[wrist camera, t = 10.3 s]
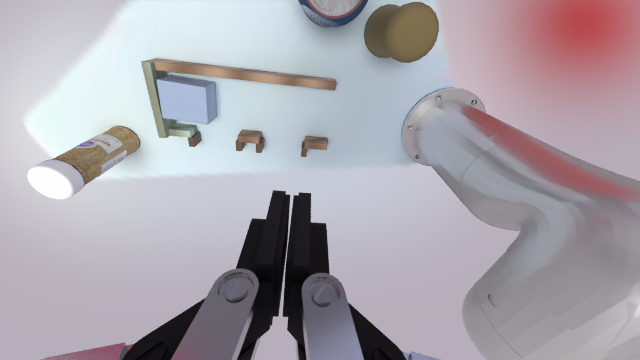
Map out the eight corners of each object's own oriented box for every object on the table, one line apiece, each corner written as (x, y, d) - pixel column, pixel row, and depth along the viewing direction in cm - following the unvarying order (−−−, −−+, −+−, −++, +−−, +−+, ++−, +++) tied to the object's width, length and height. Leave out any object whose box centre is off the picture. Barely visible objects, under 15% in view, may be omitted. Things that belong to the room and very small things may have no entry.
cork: (400, 62, 35) (432, 75, 25) (358, 52, 34) (375, 61, 25) (417, 10, 32) (461, 4, 22) (372, -2, 31) (397, -14, 22)
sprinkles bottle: (128, 122, 38) (50, 163, 27) (146, 148, 41) (80, 196, 29) (102, 129, 39) (14, 172, 27) (121, 155, 41) (47, 204, 30)
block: (215, 81, 36) (205, 87, 32) (217, 115, 38) (207, 124, 35) (171, 74, 35) (156, 79, 32) (176, 109, 38) (162, 117, 34)
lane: (334, 79, 36) (336, 84, 33) (325, 152, 42) (325, 161, 39) (156, 58, 34) (141, 61, 31) (172, 137, 40) (161, 146, 37)
